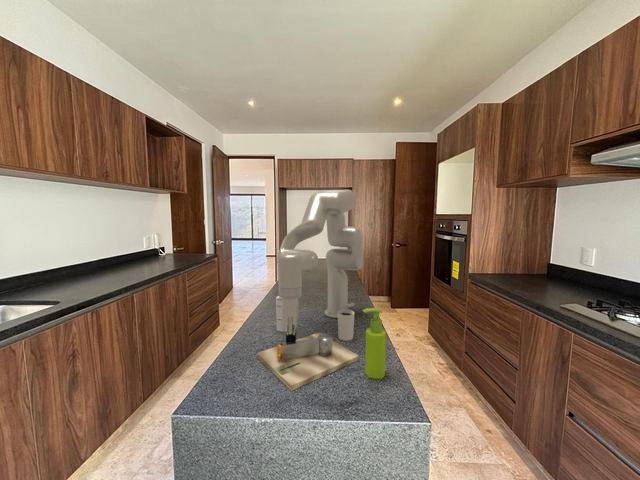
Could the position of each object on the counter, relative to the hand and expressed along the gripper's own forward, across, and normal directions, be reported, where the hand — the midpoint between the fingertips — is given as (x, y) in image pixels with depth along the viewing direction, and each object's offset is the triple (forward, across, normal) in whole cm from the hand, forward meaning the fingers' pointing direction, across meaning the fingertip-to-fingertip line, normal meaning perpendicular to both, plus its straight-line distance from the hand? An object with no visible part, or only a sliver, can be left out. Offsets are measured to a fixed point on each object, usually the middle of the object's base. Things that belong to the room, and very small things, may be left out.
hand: (291, 345), depth 90 cm
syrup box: (+5, -24, -3) cm, 25 cm away
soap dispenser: (+5, +10, +25) cm, 27 cm away
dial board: (+5, 0, +5) cm, 7 cm away
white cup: (+5, -14, +21) cm, 26 cm away
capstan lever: (+3, +2, +5) cm, 6 cm away
